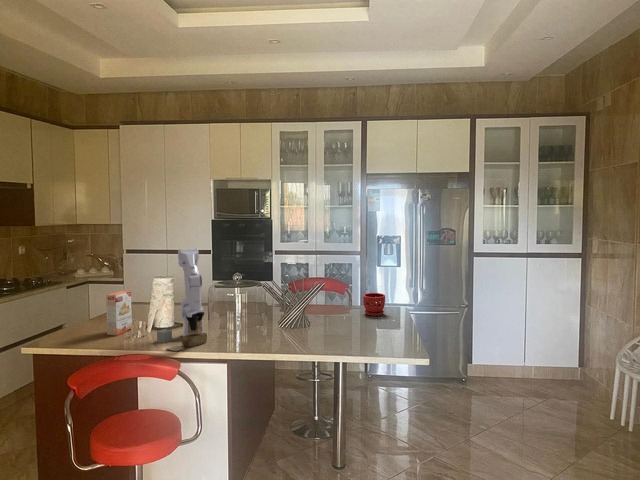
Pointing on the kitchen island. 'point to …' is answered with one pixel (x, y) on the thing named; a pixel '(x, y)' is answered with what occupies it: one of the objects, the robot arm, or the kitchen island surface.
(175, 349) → the tile
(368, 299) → the plant pot
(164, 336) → the slate grey cube
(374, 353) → the kitchen island surface
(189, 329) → the walnut cube
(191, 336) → the stone block
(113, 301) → the cracker box
